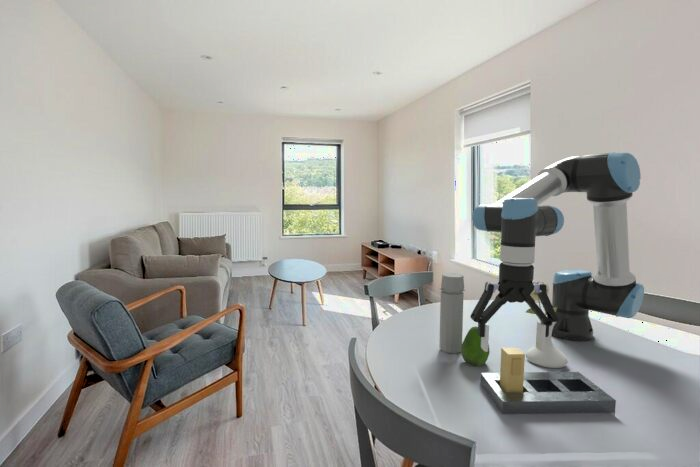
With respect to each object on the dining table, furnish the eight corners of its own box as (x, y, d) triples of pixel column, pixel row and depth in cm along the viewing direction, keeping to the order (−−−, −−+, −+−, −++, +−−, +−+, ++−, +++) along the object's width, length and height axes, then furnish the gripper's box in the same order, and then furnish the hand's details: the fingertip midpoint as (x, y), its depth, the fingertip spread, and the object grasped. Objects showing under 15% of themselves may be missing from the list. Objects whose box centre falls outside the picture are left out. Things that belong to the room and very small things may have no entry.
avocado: (485, 373, 109) (486, 333, 107) (457, 367, 113) (459, 327, 112) (491, 363, 115) (492, 324, 114) (465, 357, 120) (466, 320, 118)
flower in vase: (563, 358, 119) (568, 279, 116) (571, 374, 108) (576, 288, 105) (517, 352, 123) (521, 276, 120) (521, 368, 112) (524, 284, 110)
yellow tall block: (515, 393, 96) (517, 347, 95) (523, 403, 92) (526, 355, 90) (499, 393, 96) (501, 347, 95) (507, 403, 92) (509, 355, 90)
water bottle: (464, 355, 121) (466, 278, 118) (438, 353, 122) (440, 277, 120) (461, 344, 130) (463, 272, 127) (437, 342, 131) (439, 271, 129)
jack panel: (577, 386, 102) (578, 371, 101) (614, 416, 88) (615, 400, 87) (480, 387, 101) (480, 372, 101) (502, 418, 87) (502, 401, 87)
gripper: (559, 260, 94) (554, 343, 97) (459, 260, 94) (456, 343, 96) (578, 266, 87) (572, 355, 89) (469, 265, 87) (466, 355, 89)
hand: (512, 349), depth 93 cm, fingers open, 13 cm apart
